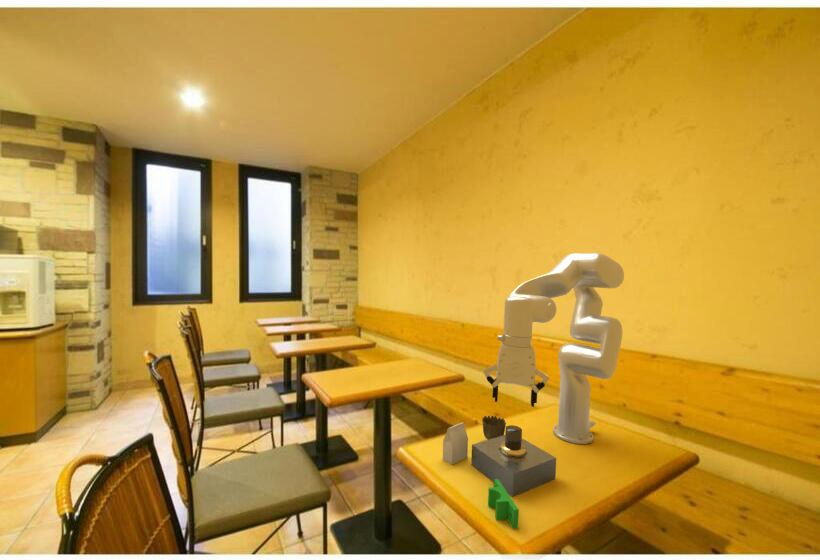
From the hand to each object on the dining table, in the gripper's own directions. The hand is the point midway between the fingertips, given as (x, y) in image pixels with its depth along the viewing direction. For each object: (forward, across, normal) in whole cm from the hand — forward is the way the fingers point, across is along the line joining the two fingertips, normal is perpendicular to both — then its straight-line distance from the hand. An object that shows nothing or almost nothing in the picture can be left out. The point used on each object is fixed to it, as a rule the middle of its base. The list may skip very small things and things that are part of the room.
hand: (513, 402), depth 98 cm
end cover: (+19, 0, +1) cm, 19 cm away
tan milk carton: (+20, -16, +3) cm, 26 cm away
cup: (+20, -5, +15) cm, 25 cm away
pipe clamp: (+20, -3, -17) cm, 27 cm away
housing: (+20, 0, +1) cm, 20 cm away
